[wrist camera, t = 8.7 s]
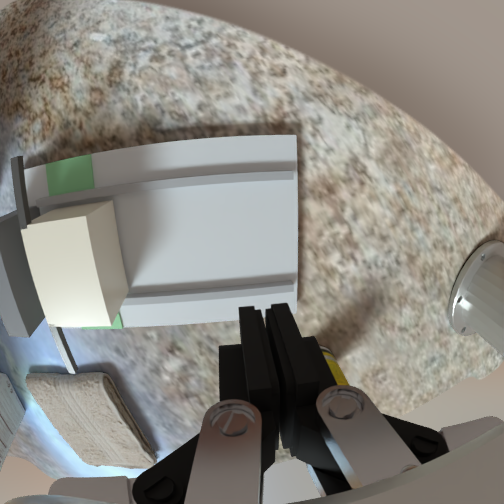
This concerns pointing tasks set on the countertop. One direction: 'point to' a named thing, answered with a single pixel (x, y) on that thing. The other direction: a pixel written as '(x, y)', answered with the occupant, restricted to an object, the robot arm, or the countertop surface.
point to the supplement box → (8, 415)
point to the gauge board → (174, 228)
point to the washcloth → (92, 418)
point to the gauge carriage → (72, 263)
